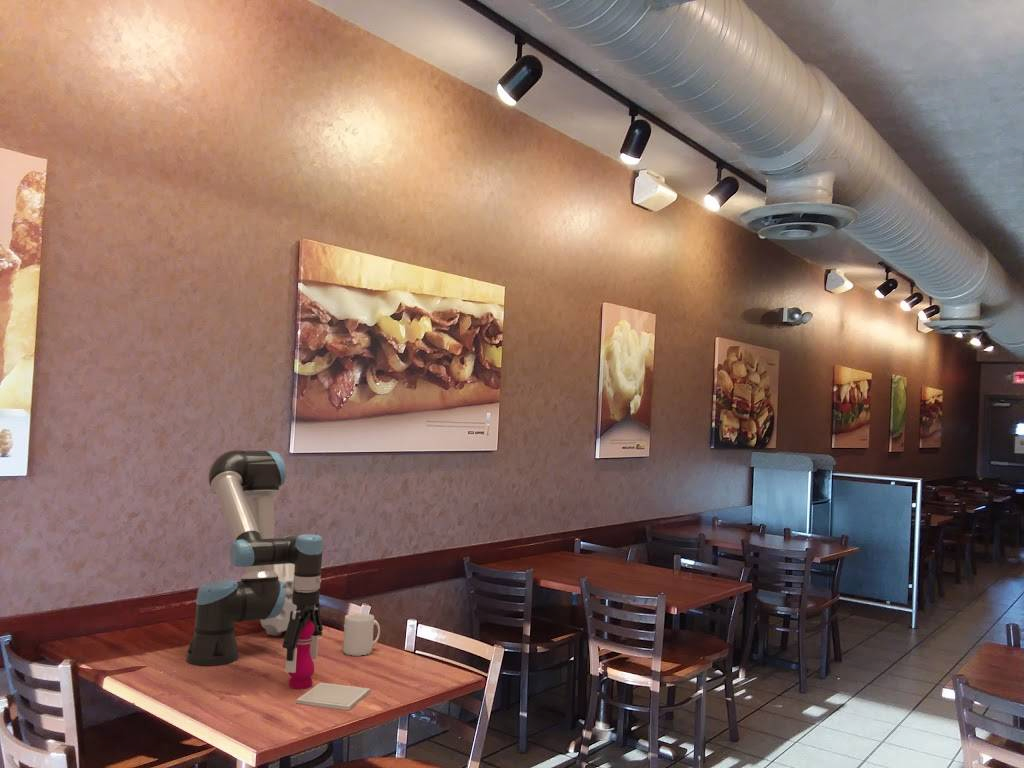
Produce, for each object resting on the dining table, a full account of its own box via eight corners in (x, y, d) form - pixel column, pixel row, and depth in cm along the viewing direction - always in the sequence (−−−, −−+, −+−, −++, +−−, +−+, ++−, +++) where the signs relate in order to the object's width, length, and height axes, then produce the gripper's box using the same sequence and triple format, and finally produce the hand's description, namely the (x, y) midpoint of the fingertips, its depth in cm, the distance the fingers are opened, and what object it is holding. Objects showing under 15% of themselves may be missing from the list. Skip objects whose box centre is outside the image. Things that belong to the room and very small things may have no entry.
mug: (336, 651, 262) (339, 615, 263) (366, 645, 271) (368, 610, 272) (354, 658, 256) (356, 621, 257) (384, 652, 265) (386, 616, 265)
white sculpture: (310, 633, 272) (290, 562, 274) (265, 647, 272) (245, 575, 274) (325, 619, 292) (306, 553, 294) (283, 632, 292) (265, 566, 294)
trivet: (296, 703, 214) (296, 699, 214) (320, 686, 228) (320, 682, 229) (348, 710, 211) (348, 706, 211) (370, 692, 225) (370, 688, 225)
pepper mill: (290, 690, 223) (294, 618, 224) (284, 682, 230) (289, 612, 231) (316, 688, 227) (320, 616, 228) (310, 680, 233) (314, 610, 234)
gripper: (298, 599, 216) (293, 679, 215) (336, 582, 241) (332, 654, 240) (272, 597, 218) (267, 676, 217) (313, 580, 242) (309, 651, 241)
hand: (301, 665), depth 228 cm, fingers open, 13 cm apart
